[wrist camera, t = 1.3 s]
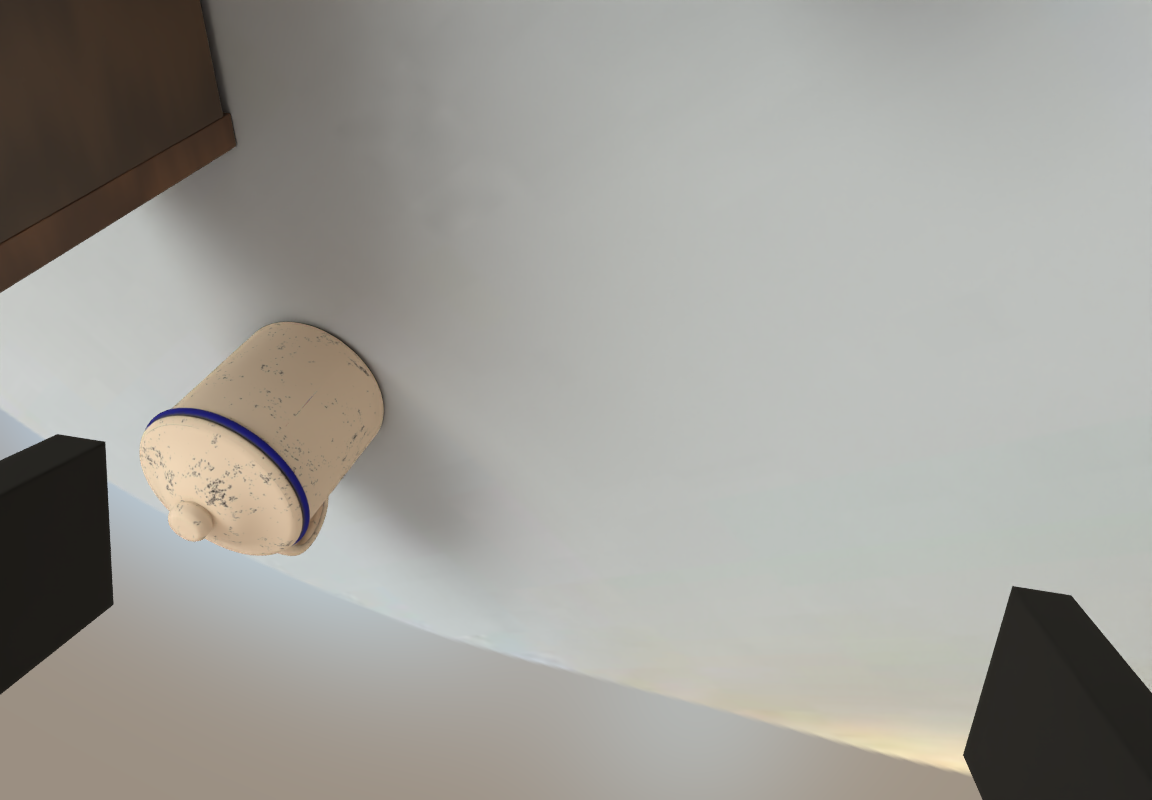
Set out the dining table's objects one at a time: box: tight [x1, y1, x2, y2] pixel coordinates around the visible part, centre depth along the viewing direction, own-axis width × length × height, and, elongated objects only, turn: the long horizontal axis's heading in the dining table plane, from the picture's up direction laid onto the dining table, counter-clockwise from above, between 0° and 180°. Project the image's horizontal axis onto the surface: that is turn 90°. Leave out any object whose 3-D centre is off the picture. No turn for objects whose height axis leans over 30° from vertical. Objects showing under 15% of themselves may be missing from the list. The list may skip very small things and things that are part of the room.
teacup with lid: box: [140, 322, 384, 556], centre depth 46 cm, size 12×9×12 cm
